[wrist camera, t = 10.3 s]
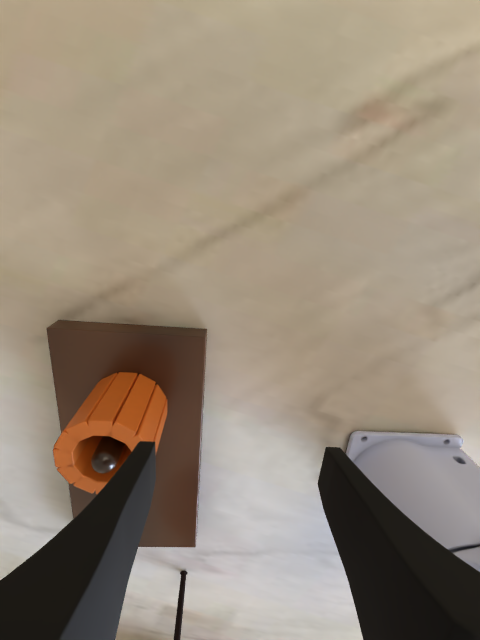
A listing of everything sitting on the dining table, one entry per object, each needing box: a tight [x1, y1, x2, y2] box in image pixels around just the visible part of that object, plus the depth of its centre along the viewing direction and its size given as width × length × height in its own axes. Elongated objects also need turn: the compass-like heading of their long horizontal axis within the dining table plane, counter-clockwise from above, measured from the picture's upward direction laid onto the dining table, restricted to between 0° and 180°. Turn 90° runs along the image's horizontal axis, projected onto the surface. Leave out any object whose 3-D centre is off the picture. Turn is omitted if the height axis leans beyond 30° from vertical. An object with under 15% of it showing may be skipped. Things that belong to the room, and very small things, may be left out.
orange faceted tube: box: [53, 372, 167, 494], centre depth 19 cm, size 5×5×5 cm
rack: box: [47, 320, 207, 547], centre depth 21 cm, size 10×20×7 cm, turn 175°
